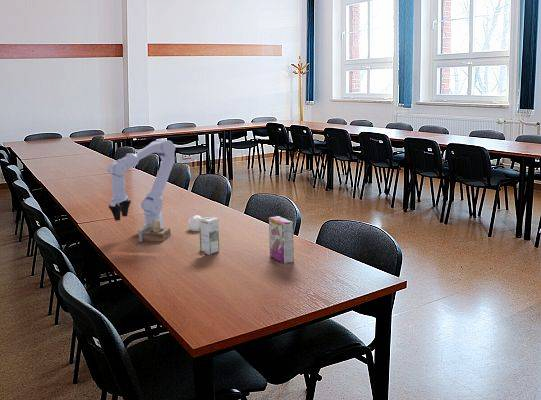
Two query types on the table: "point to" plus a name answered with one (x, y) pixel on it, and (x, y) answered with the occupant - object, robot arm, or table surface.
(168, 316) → the table surface
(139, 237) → the backstop board
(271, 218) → the candy bar box
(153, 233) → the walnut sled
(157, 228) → the birch dowel
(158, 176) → the robot arm
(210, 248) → the syrup box
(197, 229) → the motion sensor
